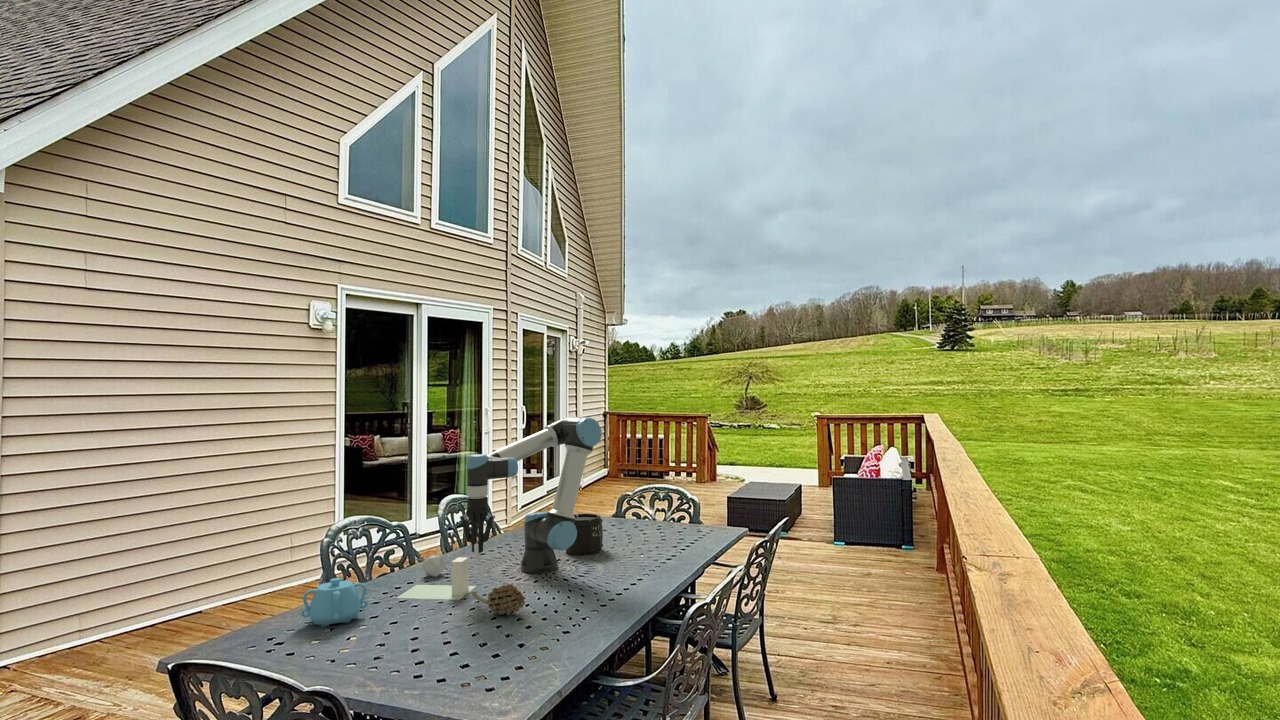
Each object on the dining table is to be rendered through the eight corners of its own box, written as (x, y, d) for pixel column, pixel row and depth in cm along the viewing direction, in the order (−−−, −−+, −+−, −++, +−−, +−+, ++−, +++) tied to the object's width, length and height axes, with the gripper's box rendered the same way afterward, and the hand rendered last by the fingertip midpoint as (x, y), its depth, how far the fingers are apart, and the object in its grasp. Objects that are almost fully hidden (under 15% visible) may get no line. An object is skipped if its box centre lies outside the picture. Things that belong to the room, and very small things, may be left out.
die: (450, 575, 270) (444, 553, 275) (442, 570, 263) (437, 548, 268) (430, 583, 269) (425, 561, 274) (422, 578, 262) (417, 556, 267)
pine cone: (532, 612, 222) (531, 582, 223) (516, 621, 214) (516, 590, 214) (477, 605, 231) (476, 576, 231) (459, 614, 222) (459, 584, 222)
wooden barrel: (568, 546, 313) (568, 512, 314) (605, 546, 311) (605, 513, 311) (558, 556, 295) (558, 520, 296) (598, 556, 293) (597, 520, 293)
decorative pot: (332, 633, 207) (332, 589, 208) (296, 625, 214) (296, 583, 214) (372, 616, 222) (372, 575, 223) (338, 609, 229) (338, 570, 229)
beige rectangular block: (468, 590, 247) (468, 557, 248) (462, 595, 242) (461, 561, 242) (458, 589, 248) (458, 557, 248) (451, 594, 242) (451, 561, 243)
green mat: (476, 586, 252) (476, 586, 252) (459, 600, 236) (459, 599, 236) (416, 585, 256) (416, 584, 256) (396, 598, 240) (396, 598, 240)
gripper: (497, 495, 248) (498, 559, 247) (464, 494, 250) (464, 558, 249) (490, 498, 241) (490, 564, 239) (456, 498, 242) (456, 563, 241)
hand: (477, 561), depth 244 cm, fingers closed
